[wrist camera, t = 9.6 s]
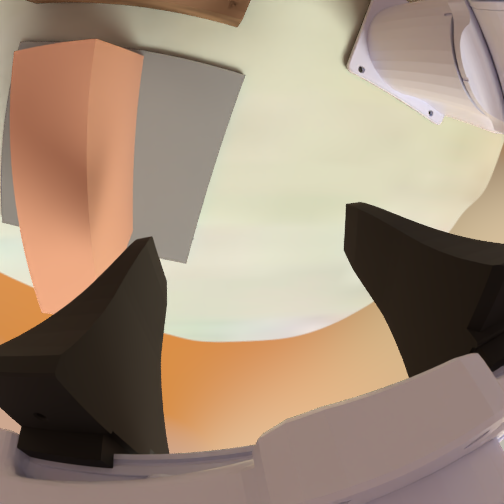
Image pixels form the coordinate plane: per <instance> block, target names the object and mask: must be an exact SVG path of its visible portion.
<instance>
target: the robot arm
mask: <svg viewBox="0 0 504 504" xmlns="http://www.w3.org/2000/svg"><path fill="white" fill-rule="evenodd" d="M359 66H360V67H361V68H362V72H361V73H360V72H359V70H358V68H359ZM347 69H348V70H349V71H350V72H351V73H353V74H355V75H357V76H359V77H361V78H362V79H364V80H366V81H368V82H370V83H372V84H373V85H375V86H377V87H379V88H380V89H382V90H384V91H385V92H387V93H389V94H390V95H392V96H394V97H395V98H397V99H399V100H400V101H402V102H403V103H405V104H406V105H408V106H410V107H411V108H413V109H414V110H416V111H417V112H419V113H420V114H421V115H423V116H424V117H426V118H427V119H429V120H430V121H432V122H433V123H435V124H437V125H439V124H441V122H442V120H443V118H444V116H447V117H451V118H454V119H457V120H460V121H463V122H465V123H468V124H471V125H474V126H477V127H479V128H482V129H485V130H487V131H490V132H493V133H499V134H501V133H502V134H504V0H421V1H415V2H410V3H409V2H408V1H407V0H371V2H370V5H369V7H368V10H367V13H366V15H365V18H364V21H363V23H362V26H361V28H360V31H359V34H358V36H357V39H356V42H355V44H354V47H353V49H352V52H351V54H350V57H349V60H348V62H347ZM429 111H430V115H429ZM344 252H345V254H346V256H347V258H348V260H349V262H350V264H351V266H352V268H353V270H354V272H355V273H356V275H357V276H358V278H359V279H360V281H361V282H362V284H363V285H364V287H365V288H366V290H367V291H368V293H369V294H370V296H371V297H372V299H373V300H374V302H375V303H376V305H377V306H378V308H379V309H380V311H381V313H382V314H383V316H384V318H385V320H386V322H387V324H388V326H389V328H390V330H391V332H392V334H393V337H394V339H395V341H396V344H397V346H398V349H399V351H400V354H401V356H402V358H403V361H404V364H405V367H406V370H407V373H408V376H409V378H408V379H406V380H403V381H400V382H397V383H395V384H392V385H389V386H387V387H384V388H381V389H378V390H375V391H372V392H369V393H366V394H363V395H360V396H357V397H354V398H351V399H348V400H344V401H341V402H337V403H334V404H330V405H326V406H323V407H319V408H317V409H314V410H311V411H309V412H306V413H303V414H300V415H297V416H294V417H291V418H288V419H286V420H284V421H283V422H281V423H279V424H278V425H276V426H275V427H273V428H271V429H270V430H268V431H266V432H265V433H263V434H262V435H261V436H260V437H259V439H258V440H257V443H256V445H250V446H244V447H237V448H230V449H222V450H213V451H204V452H192V453H178V454H177V453H176V454H169V449H168V443H167V437H166V430H165V422H164V414H163V403H162V388H161V351H162V341H163V333H164V324H165V316H166V307H167V281H166V278H165V275H164V272H163V269H162V266H161V262H160V259H159V256H158V253H157V250H156V247H155V243H154V240H153V237H152V236H150V237H145V238H140V239H136V240H135V241H134V242H133V243H132V244H130V245H129V246H128V247H127V248H126V249H125V250H124V252H123V253H122V254H121V255H120V256H119V257H118V258H117V259H116V260H115V261H114V262H113V263H112V264H111V265H110V266H109V267H108V268H107V269H106V270H105V271H104V272H103V273H102V274H101V275H100V276H99V277H98V278H97V279H96V280H95V281H94V282H93V283H92V284H91V285H90V286H89V287H88V288H87V289H85V290H84V291H83V292H82V293H81V294H80V295H78V296H77V297H76V298H75V299H74V300H72V301H71V302H70V303H69V304H67V305H66V306H65V307H63V308H62V309H60V310H59V311H58V312H56V313H55V314H54V315H52V316H51V317H49V318H48V319H46V320H45V321H43V322H42V323H40V324H39V325H37V326H36V327H34V328H32V329H30V330H29V331H27V332H25V333H23V334H21V335H20V336H18V337H16V338H14V339H12V340H10V341H8V342H6V343H4V344H2V345H0V408H1V409H2V410H4V411H5V412H6V413H7V414H8V415H9V416H10V417H11V418H12V419H14V420H15V421H16V422H17V423H18V424H19V425H21V426H22V427H21V431H20V435H19V434H17V433H15V432H13V431H10V430H7V429H1V428H0V504H504V451H503V449H502V448H501V446H500V444H499V442H501V441H502V440H503V439H504V244H500V243H493V242H486V241H480V240H475V239H470V238H466V237H462V236H457V235H453V234H450V233H447V232H443V231H440V230H437V229H434V228H431V227H428V226H425V225H422V224H419V223H417V222H414V221H411V220H409V219H406V218H404V217H401V216H399V215H396V214H394V213H391V212H389V211H386V210H384V209H381V208H378V207H376V206H373V205H370V204H366V203H362V202H358V203H350V204H346V219H345V238H344Z"/></svg>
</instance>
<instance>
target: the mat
mask: <svg viewBox="0 0 504 504" xmlns="http://www.w3.org/2000/svg"><path fill="white" fill-rule="evenodd" d="M55 43H61V42H20V45H19V49H18V50H23V49H27V48H32V47H37V46H43V45H49V44H55ZM121 48H123V47H121ZM124 49H127V50H129V51H132V52H135V53H137V54H140V55H142V56H144V59H143V66H142V73H141V81H140V89H139V98H138V108H137V119H136V132H135V147H134V168H133V232H132V235H131V237H130V240H129V243H128V245H127V247H128V246H129V245H130V244H132V243H133V242H134V241H135V240H136V239H140V238H145V237H150V236H152V237H153V240H154V243H155V247H156V250H157V253H158V256H159V258H161V259H166V260H171V261H176V262H181V263H186V262H187V259H188V255H189V251H190V247H191V244H192V240H193V236H194V233H195V229H196V226H197V222H198V219H199V215H200V212H201V208H202V205H203V202H204V198H205V195H206V191H207V188H208V185H209V182H210V178H211V175H212V172H213V169H214V165H215V162H216V159H217V156H218V153H219V150H220V147H221V144H222V141H223V138H224V135H225V132H226V129H227V126H228V123H229V120H230V117H231V114H232V111H233V108H234V105H235V103H236V100H237V97H238V94H239V91H240V89H241V86H242V83H243V80H244V78H245V75H243V74H240V73H237V72H233V71H230V70H227V69H223V68H220V67H216V66H212V65H208V64H205V63H201V62H197V61H192V60H188V59H184V58H179V57H175V56H170V55H165V54H160V53H155V52H149V51H143V50H137V49H130V48H124ZM10 92H11V84H10V90H9V95H8V102H7V108H6V116H5V124H4V134H3V147H2V166H1V203H2V223H6V224H10V225H15V226H19V221H18V215H17V209H16V202H15V195H14V186H13V177H12V166H11V151H10ZM19 227H20V226H19Z"/></svg>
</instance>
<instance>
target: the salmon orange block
mask: <svg viewBox="0 0 504 504" xmlns="http://www.w3.org/2000/svg"><path fill="white" fill-rule="evenodd" d="M143 59H144V56H142V55H140V54H137V53H135V52H132V51H129V50H127V49H124V48H121V47H119V46H116V45H113V44H110V43H107V42H105V41H102V40H99V39H86V40H77V41H69V42H61V43H55V44H49V45H43V46H37V47H32V48H27V49H23V50H18V51H14V58H13V66H12V77H11V92H10V151H11V166H12V177H13V186H14V195H15V202H16V209H17V215H18V221H19V226H20V232H21V237H22V242H23V246H24V251H25V255H26V259H27V264H28V268H29V271H30V275H31V279H32V282H33V286H34V289H35V293H36V296H37V299H38V302H39V306H40V308H41V312H42V313H49V314H55V313H56V312H58V311H59V310H60V309H62V308H63V307H65V306H66V305H67V304H69V303H70V302H71V301H72V300H74V299H75V298H76V297H77V296H78V295H80V294H81V293H82V292H83V291H84V290H85V289H87V288H88V287H89V286H90V285H91V284H92V283H93V282H94V281H95V280H96V279H97V278H98V277H99V276H100V275H101V274H102V273H103V272H104V271H105V270H106V269H107V268H108V267H109V266H110V265H111V264H112V263H113V262H114V261H115V260H116V259H117V258H118V257H119V256H120V255H121V254H122V253H123V252H124V250H125V249H126V248H127V245H128V243H129V240H130V237H131V235H132V232H133V168H134V147H135V132H136V119H137V108H138V98H139V89H140V81H141V73H142V66H143Z"/></svg>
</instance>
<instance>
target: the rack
mask: <svg viewBox="0 0 504 504" xmlns="http://www.w3.org/2000/svg"><path fill="white" fill-rule="evenodd" d="M27 1H30V2H33V3H36V4H38V3H58V2H87V3H108V4H120V5H130V6H139V7H147V8H153V9H160V10H166V11H171V12H177V13H182V14H187V15H191V16H196V17H200V18H205V19H209V20H213V21H217V22H220V23H224V24H228V25H231V26H235V27H238V25H239V24H240V23H241V21H242V19H243V17H244V15H245V12H246V10H247V7H248V5H249V3H250V0H27Z"/></svg>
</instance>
